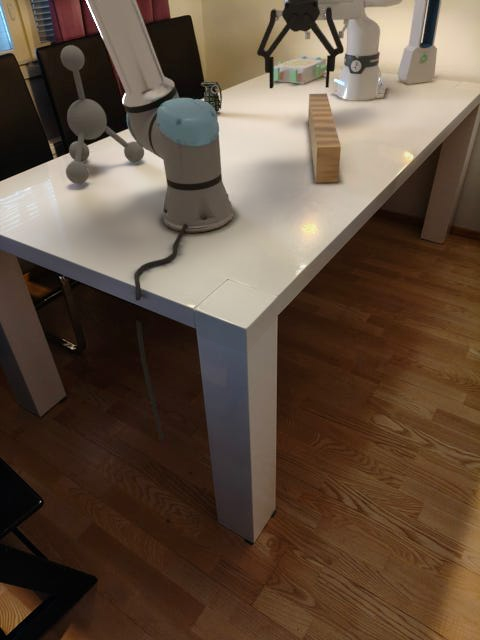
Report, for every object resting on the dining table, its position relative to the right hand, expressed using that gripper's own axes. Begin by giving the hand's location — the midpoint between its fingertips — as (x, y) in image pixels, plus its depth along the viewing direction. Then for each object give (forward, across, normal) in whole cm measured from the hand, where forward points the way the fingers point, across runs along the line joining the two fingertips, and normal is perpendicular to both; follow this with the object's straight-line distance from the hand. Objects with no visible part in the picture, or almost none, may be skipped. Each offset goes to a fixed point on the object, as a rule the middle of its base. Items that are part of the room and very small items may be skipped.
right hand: (324, 38), depth 140 cm
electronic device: (+23, -36, -60) cm, 73 cm away
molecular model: (+26, +57, +37) cm, 73 cm away
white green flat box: (+23, +10, -68) cm, 73 cm away
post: (+25, -1, +20) cm, 32 cm away
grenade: (+24, +38, -16) cm, 47 cm away
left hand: (+7, +5, +31) cm, 32 cm away
